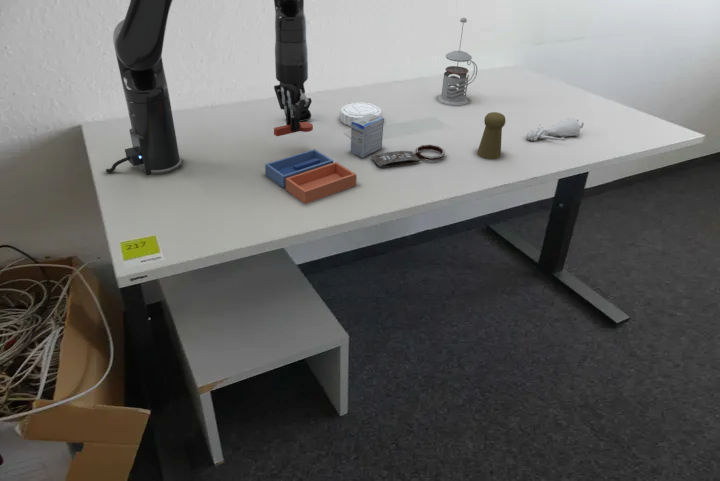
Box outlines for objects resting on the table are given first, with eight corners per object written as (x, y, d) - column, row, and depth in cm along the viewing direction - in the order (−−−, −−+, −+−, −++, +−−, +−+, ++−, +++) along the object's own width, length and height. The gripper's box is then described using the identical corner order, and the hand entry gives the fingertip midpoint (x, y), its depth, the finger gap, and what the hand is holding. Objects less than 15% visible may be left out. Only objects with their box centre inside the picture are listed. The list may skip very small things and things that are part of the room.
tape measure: (311, 122, 158) (311, 110, 156) (287, 124, 156) (287, 112, 154) (306, 113, 163) (305, 101, 161) (283, 115, 161) (282, 103, 159)
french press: (432, 95, 180) (441, 14, 166) (464, 93, 183) (476, 13, 169) (445, 106, 172) (455, 22, 158) (478, 103, 175) (492, 20, 161)
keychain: (368, 157, 141) (369, 149, 139) (436, 148, 146) (437, 141, 145) (380, 170, 135) (380, 163, 133) (450, 160, 140) (451, 153, 139)
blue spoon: (286, 180, 128) (285, 173, 127) (276, 174, 130) (276, 167, 129) (323, 168, 133) (323, 161, 132) (313, 162, 136) (313, 155, 135)
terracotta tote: (305, 204, 120) (305, 192, 119) (285, 190, 125) (285, 178, 123) (356, 185, 128) (356, 174, 126) (336, 173, 133) (336, 161, 131)
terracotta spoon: (306, 125, 142) (307, 118, 142) (315, 130, 140) (316, 123, 139) (271, 132, 136) (270, 125, 136) (279, 138, 134) (279, 131, 133)
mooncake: (388, 125, 158) (388, 113, 156) (348, 130, 154) (349, 118, 152) (371, 110, 167) (372, 99, 165) (334, 114, 163) (334, 103, 161)
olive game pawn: (483, 160, 141) (490, 119, 135) (473, 150, 146) (479, 110, 140) (504, 158, 143) (512, 117, 136) (494, 148, 147) (501, 108, 141)
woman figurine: (596, 124, 151) (542, 137, 146) (592, 139, 154) (539, 152, 149) (567, 109, 160) (515, 121, 155) (564, 124, 163) (513, 136, 157)
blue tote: (283, 188, 126) (282, 176, 124) (265, 175, 131) (265, 163, 129) (333, 171, 133) (333, 160, 132) (315, 160, 138) (314, 149, 137)
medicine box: (369, 143, 147) (370, 112, 142) (382, 148, 145) (384, 117, 140) (350, 153, 142) (350, 121, 137) (363, 158, 140) (364, 126, 135)
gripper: (262, 54, 130) (265, 123, 140) (294, 69, 122) (295, 142, 131) (289, 49, 134) (290, 117, 144) (321, 64, 126) (321, 135, 136)
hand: (293, 129), depth 138 cm, fingers closed on terracotta spoon, 1 cm apart
